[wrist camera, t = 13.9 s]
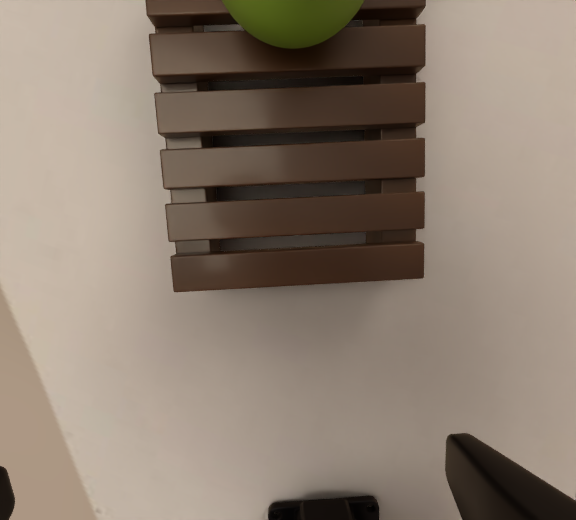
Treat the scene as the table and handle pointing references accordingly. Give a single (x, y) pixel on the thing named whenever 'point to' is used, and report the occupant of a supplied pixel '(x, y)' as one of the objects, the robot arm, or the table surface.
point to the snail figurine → (293, 19)
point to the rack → (290, 147)
